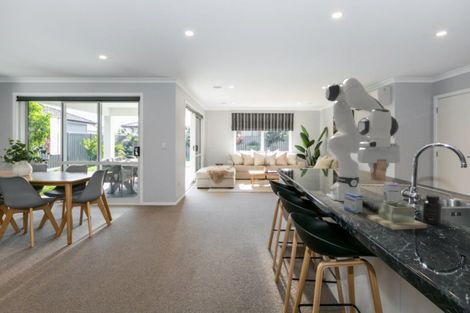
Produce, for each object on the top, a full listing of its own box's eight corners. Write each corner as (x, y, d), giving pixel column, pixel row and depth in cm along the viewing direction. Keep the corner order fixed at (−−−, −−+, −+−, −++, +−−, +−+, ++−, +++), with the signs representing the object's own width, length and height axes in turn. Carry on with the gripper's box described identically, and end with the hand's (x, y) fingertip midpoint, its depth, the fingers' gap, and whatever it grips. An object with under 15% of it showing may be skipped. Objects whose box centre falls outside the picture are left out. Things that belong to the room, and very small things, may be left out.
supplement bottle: (424, 219, 125) (425, 193, 124) (442, 222, 120) (444, 195, 119) (420, 222, 120) (421, 195, 119) (439, 226, 115) (441, 198, 114)
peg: (370, 179, 130) (371, 158, 130) (378, 179, 131) (379, 158, 130) (376, 180, 126) (377, 159, 125) (385, 180, 127) (386, 159, 126)
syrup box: (398, 212, 136) (400, 183, 135) (386, 211, 138) (387, 183, 137) (394, 209, 142) (396, 182, 141) (382, 208, 143) (383, 181, 142)
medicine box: (343, 209, 141) (344, 193, 141) (349, 208, 143) (350, 192, 142) (355, 213, 134) (356, 196, 133) (362, 212, 136) (362, 195, 135)
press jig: (367, 218, 126) (368, 201, 125) (397, 216, 128) (398, 200, 128) (392, 229, 110) (393, 210, 109) (427, 227, 112) (428, 209, 112)
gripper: (394, 143, 132) (392, 171, 133) (356, 143, 129) (354, 171, 130) (404, 143, 126) (402, 173, 127) (364, 143, 123) (363, 173, 124)
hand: (378, 172), depth 128 cm, fingers closed on peg, 4 cm apart
